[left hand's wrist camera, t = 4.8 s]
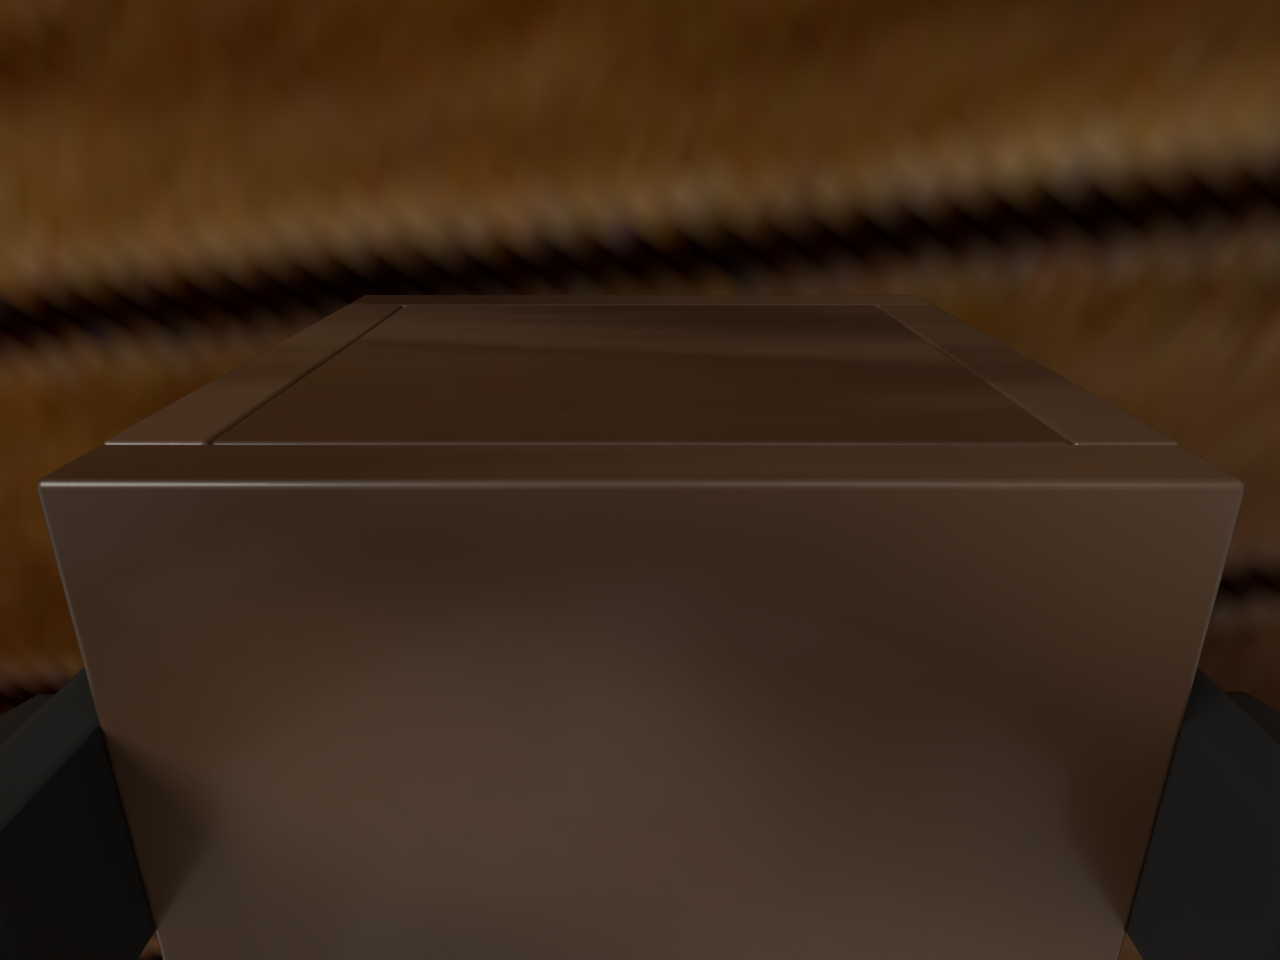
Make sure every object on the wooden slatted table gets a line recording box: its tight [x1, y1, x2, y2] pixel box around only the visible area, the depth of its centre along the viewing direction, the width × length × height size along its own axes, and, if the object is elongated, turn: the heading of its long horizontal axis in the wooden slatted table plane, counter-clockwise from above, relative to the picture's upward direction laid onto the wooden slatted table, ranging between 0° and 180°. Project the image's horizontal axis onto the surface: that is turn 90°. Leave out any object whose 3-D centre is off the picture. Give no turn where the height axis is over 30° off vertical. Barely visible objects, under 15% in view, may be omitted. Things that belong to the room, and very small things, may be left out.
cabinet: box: [37, 295, 1245, 960], centre depth 15 cm, size 18×11×10 cm, turn 0°
